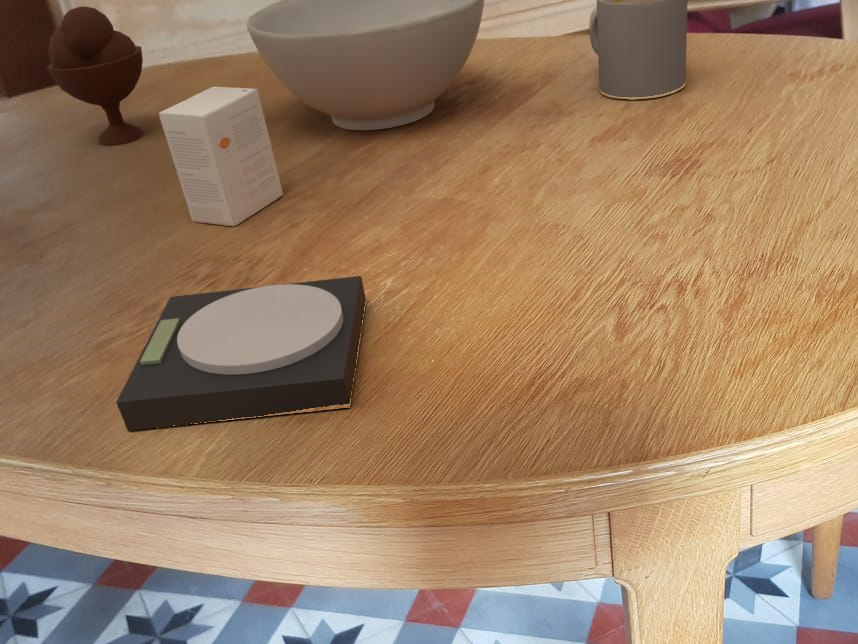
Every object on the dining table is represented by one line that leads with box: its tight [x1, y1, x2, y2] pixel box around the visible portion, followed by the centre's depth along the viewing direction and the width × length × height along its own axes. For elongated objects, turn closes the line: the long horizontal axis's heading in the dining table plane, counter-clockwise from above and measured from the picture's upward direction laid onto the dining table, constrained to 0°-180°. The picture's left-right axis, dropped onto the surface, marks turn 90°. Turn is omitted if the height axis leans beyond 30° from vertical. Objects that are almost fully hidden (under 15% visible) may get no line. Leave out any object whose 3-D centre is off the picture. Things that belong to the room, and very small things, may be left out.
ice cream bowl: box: [46, 5, 145, 146], centre depth 113 cm, size 11×11×15 cm
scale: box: [115, 275, 367, 432], centre depth 67 cm, size 15×15×3 cm
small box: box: [158, 86, 284, 227], centre depth 90 cm, size 8×6×10 cm
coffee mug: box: [588, 0, 688, 98], centre depth 109 cm, size 13×10×10 cm
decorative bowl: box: [246, 0, 485, 131], centre depth 110 cm, size 27×27×12 cm
